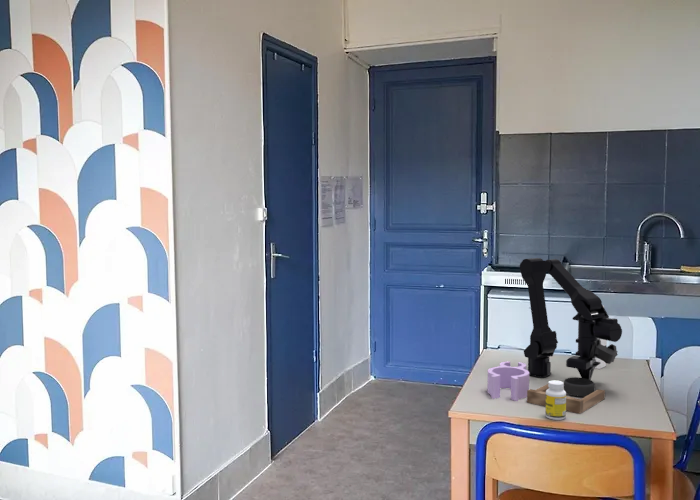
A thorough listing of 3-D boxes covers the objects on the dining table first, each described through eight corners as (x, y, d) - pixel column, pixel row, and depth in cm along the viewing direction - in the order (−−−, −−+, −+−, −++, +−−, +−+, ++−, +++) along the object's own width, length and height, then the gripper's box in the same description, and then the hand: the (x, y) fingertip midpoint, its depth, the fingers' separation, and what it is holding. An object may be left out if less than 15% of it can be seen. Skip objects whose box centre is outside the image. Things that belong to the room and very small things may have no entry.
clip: (495, 380, 221) (495, 360, 221) (534, 384, 217) (534, 363, 216) (483, 398, 203) (483, 375, 202) (525, 402, 198) (525, 379, 198)
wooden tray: (527, 402, 198) (527, 390, 198) (553, 388, 211) (554, 377, 211) (580, 413, 187) (580, 401, 187) (604, 398, 201) (605, 387, 200)
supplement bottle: (542, 414, 187) (542, 379, 186) (561, 413, 188) (561, 379, 187) (549, 420, 182) (550, 385, 181) (569, 420, 182) (569, 384, 181)
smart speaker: (595, 398, 201) (595, 385, 200) (564, 396, 203) (564, 383, 203) (593, 390, 209) (593, 377, 209) (563, 388, 212) (563, 375, 211)
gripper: (602, 345, 197) (601, 397, 198) (624, 334, 211) (623, 383, 212) (565, 339, 204) (565, 390, 205) (589, 329, 218) (588, 377, 219)
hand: (587, 385), depth 210 cm, fingers closed
